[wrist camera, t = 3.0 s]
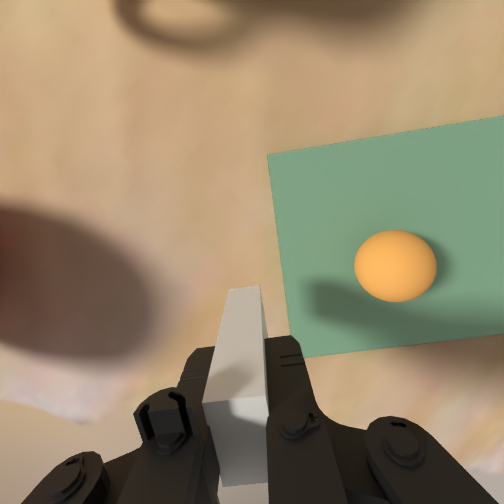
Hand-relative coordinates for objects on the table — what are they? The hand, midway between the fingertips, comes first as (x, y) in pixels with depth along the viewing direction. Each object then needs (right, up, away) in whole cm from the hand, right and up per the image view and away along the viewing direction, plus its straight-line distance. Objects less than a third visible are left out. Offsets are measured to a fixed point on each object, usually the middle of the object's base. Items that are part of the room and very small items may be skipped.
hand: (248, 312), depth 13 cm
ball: (+8, +2, +2) cm, 9 cm away
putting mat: (+14, +4, +4) cm, 15 cm away
